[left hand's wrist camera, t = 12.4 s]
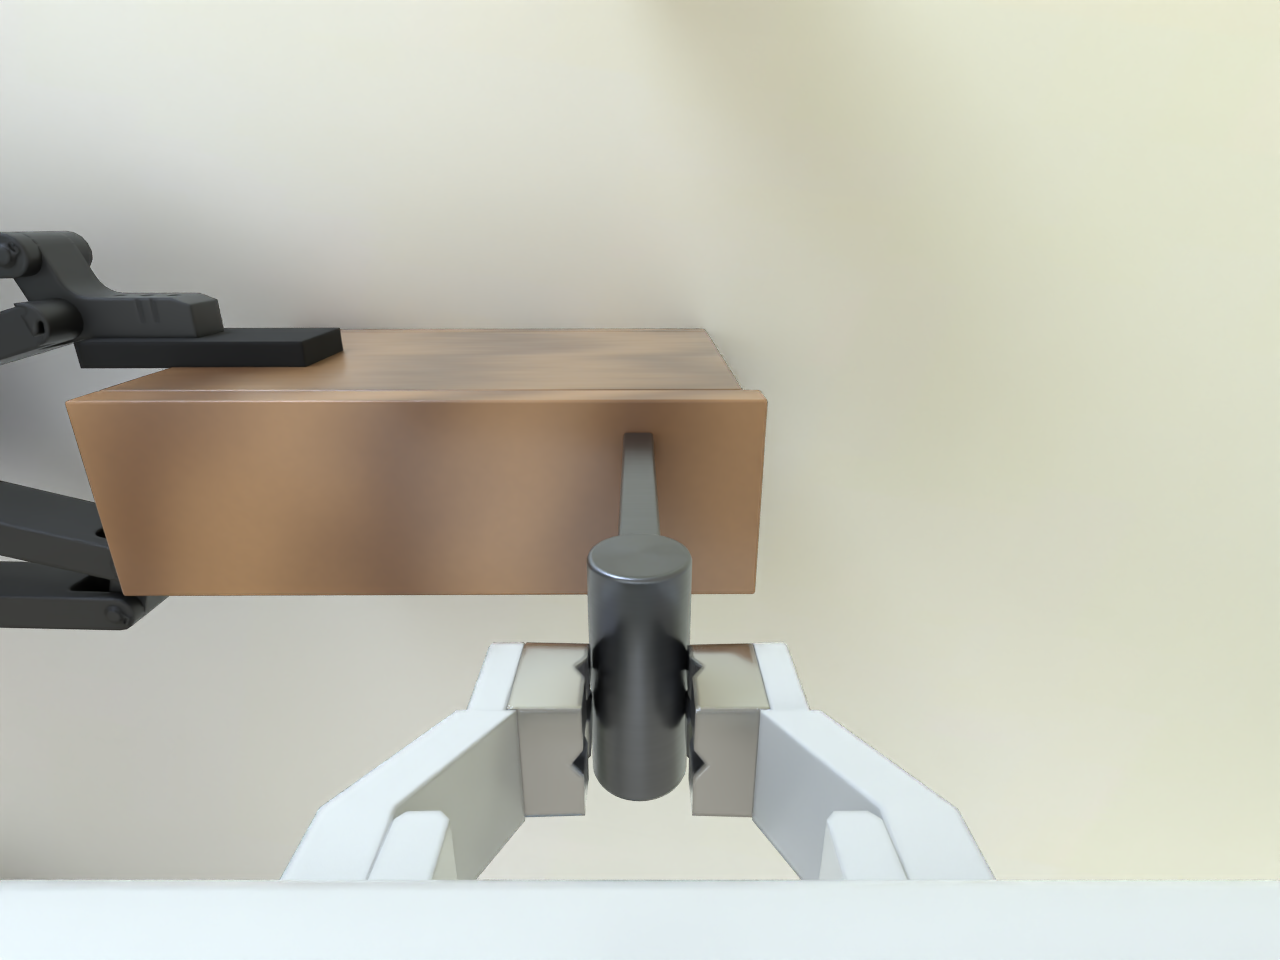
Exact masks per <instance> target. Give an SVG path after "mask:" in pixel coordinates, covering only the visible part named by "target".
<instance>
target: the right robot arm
mask: <svg viewBox="0 0 1280 960" xmlns="http://www.w3.org/2000/svg"><path fill="white" fill-rule="evenodd" d="M91 262H92V251H91V249H90V247H89V245H88V243H87V242H86V241H85V240H84V239H83V238H82V237H81V236H79V235H78V234H76V233H74V232H69V231H39V232H0V278H14V280H15V281H16V283H17V284H18V286H19V287H20V289H21V290H22V292H23V293H24V295H25V297H26V298H27V300H28V301H29V302H22V303H14V305H15V307H14V308H11V309H7V310H4V311H1V312H0V365H3V364H6V363H9V362H13V361H16V360H19V359H23V358H26V357H29V356H33V355H36V354H39V353H43V352H46V351H49V350H53V349H56V348H59V347H63V346H66V345H69V344H73V343H74V346H75V349H76V353H77V356H78V359H79V363H80V366H81V368H172V367H307V366H310V365H312V364H314V363H316V362H319V361H321V360H323V359H325V358H328V357H330V356H332V355H334V354H337V353H339V352H341V351H343V345H342V338H341V331H340V328H223V324H222V319H221V314H220V309H219V305H218V300H217V299H214V298H212V297H209V296H206V295H204V294H201V293H119V292H116V291H113V290H110V289H109V288H107V287H105V286H104V285H103V284H102V283H101V282H100V281H99V280H98V279H97V277H96V276H95V275H94V273H93V271H92V270H91V268H90V267H89V266H90V265H91ZM0 555H1V556H6V557H10V558H15V559H19V560H24V561H28V562H6V561H0V628H42V629H88V630H125V629H128V628H129V627H131V626H132V625H133V624H135V623H136V622H137V621H138V620H140V619H141V618H142V617H144V616H145V615H146V614H147V613H149V612H150V611H151V610H152V609H154V608H155V607H156V606H157V605H159V604H160V603H161V602H162V601H164V600H165V599H166V598H167V597H169V596H125V595H124V594H123V592H122V588H121V585H120V582H119V579H118V575H117V572H116V569H115V566H114V562H113V559H112V556H111V552H110V549H109V546H108V543H107V539H106V536H105V533H104V530H103V526H102V523H101V520H100V516H99V513H98V510H97V507H96V503H94V502H90V501H85V500H81V499H77V498H73V497H68V496H64V495H60V494H55V493H51V492H47V491H43V490H38V489H34V488H30V487H25V486H21V485H17V484H12V483H8V482H4V481H0Z"/></svg>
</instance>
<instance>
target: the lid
mask: <svg viewBox="0 0 1280 960" xmlns="http://www.w3.org/2000/svg"><path fill="white" fill-rule="evenodd" d="M767 404H768V402H767V399H766V398H765V397H764V395H763V394H762V392H761V391H759V390H553V391H97V392H93V393H90V394H87V395H84V396H81V397H78V398H75V399H71V400H68V401H66V402H65V405H66V408H67V412H68V415H69V418H70V421H71V425H72V428H73V431H74V435H75V438H76V441H77V444H78V448H79V451H80V454H81V457H82V461H83V464H84V467H85V471H86V474H87V477H88V480H89V484H90V487H91V490H92V493H93V497H94V500H95V503H96V507H97V510H98V513H99V516H100V520H101V523H102V526H103V530H104V533H105V536H106V539H107V543H108V546H109V549H110V552H111V556H112V559H113V562H114V566H115V569H116V572H117V575H118V579H119V582H120V585H121V588H122V592H123V594H124V595H125V596H244V595H549V594H588V621H589V644H590V647H591V662H592V671H591V681H590V683H591V691H592V692H593V727H592V746H593V769H594V773H595V776H596V778H597V779H598V781H599V783H600V784H601V785H602V786H603V787H604V788H605V789H606V790H607V791H608V792H610V793H611V794H613V795H615V796H617V797H620V798H622V799H626V800H632V801H648V800H653V799H657V798H660V797H662V796H664V795H666V794H668V793H670V792H671V791H672V790H674V789H675V788H676V787H677V786H678V784H679V783H680V782H681V780H682V778H683V776H684V774H685V771H686V756H687V753H686V740H685V693H686V691H687V689H688V688H687V677H686V650H687V645H690V617H691V594H753V593H754V592H755V584H756V569H757V554H758V539H759V524H760V509H761V494H762V479H763V464H764V449H765V434H766V419H767Z"/></svg>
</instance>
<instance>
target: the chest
mask: <svg viewBox="0 0 1280 960" xmlns="http://www.w3.org/2000/svg"><path fill="white" fill-rule="evenodd" d="M340 331H341V338H342V345H343V351H341V352H339V353H337V354H334V355H332V356H330V357H328V358H325V359H323V360H321V361H319V362H316V363H314V364H312V365H310V366H307V367H172V368H169V369H165V370H162V371H159V372H156V373H153V374H150V375H146V376H143V377H140V378H137V379H134V380H131V381H128V382H124V383H121V384H118V385H115V386H112V387H109V388H105V389H102V390H100V391H553V390H742V388H741V387H740V385H739V384H738V382H737V380H736V379H735V377H734V375H733V374H732V372H731V371H730V369H729V367H728V366H727V364H726V362H725V361H724V359H723V358H722V356H721V354H720V353H719V351H718V349H717V348H716V346H715V345H714V343H713V341H712V340H711V338H710V336H709V335H708V333H707V332H706V330H705V329H340Z"/></svg>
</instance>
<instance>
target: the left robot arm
mask: <svg viewBox="0 0 1280 960" xmlns="http://www.w3.org/2000/svg"><path fill="white" fill-rule="evenodd" d="M591 671H592V662H591V647H590V644H576V643H526V644H525V643H524V642H494V643H493V644H491V645H490V646H489V648H488V651H487V654H486V656H485V659H484V662H483V665H482V668H481V670H480V673H479V676H478V679H477V682H476V684H475V687H474V690H473V693H472V696H471V698H470V701H469V704H468V707H467V709H466V710H456V711H455V712H453V713H452V714H451V715H449V716H448V717H446V718H445V719H444V720H442V721H441V722H439V723H438V724H437V725H435V726H434V727H432V728H431V729H430V730H428V731H427V732H425V733H424V734H422V735H421V736H420V737H418V738H417V739H415V740H414V741H413V742H411V743H410V744H408V745H407V746H406V747H404V748H403V749H401V750H400V751H399V752H397V753H396V754H394V755H393V756H391V757H390V758H389V759H387V760H386V761H384V762H383V763H382V764H380V765H379V766H377V767H376V768H375V769H373V770H372V771H370V772H369V773H368V774H366V775H365V776H363V777H362V778H361V779H359V780H358V781H356V782H355V783H353V784H352V785H351V786H349V787H348V788H346V789H345V790H344V791H342V792H341V793H339V794H338V795H337V796H335V797H334V798H332V799H331V800H330V801H328V802H327V803H325V804H324V805H322V806H321V807H320V808H319V809H318V811H317V813H316V815H315V816H314V818H313V820H312V822H311V824H310V825H309V827H308V829H307V831H306V833H305V835H304V836H303V838H302V840H301V842H300V844H299V845H298V847H297V849H296V851H295V853H294V854H293V856H292V858H291V860H290V862H289V863H288V865H287V867H286V869H285V871H284V873H283V874H282V876H281V878H280V880H0V960H1280V880H996V879H995V877H994V875H993V873H992V871H991V869H990V867H989V866H988V864H987V862H986V860H985V858H984V856H983V854H982V853H981V851H980V849H979V847H978V845H977V843H976V842H975V840H974V838H973V836H972V834H971V832H970V830H969V829H968V827H967V825H966V823H965V821H964V819H963V817H962V816H961V814H960V812H959V810H958V809H957V808H956V807H955V806H953V805H952V804H950V803H949V802H948V801H946V800H945V799H943V798H942V797H941V796H939V795H938V794H936V793H935V792H934V791H932V790H931V789H929V788H928V787H927V786H925V785H924V784H922V783H921V782H920V781H918V780H917V779H916V778H914V777H913V776H911V775H910V774H909V773H907V772H906V771H904V770H903V769H902V768H900V767H899V766H897V765H896V764H895V763H893V762H892V761H890V760H889V759H888V758H886V757H885V756H883V755H882V754H881V753H879V752H878V751H876V750H875V749H874V748H872V747H871V746H870V745H868V744H867V743H865V742H864V741H863V740H861V739H860V738H858V737H857V736H856V735H854V734H853V733H851V732H850V731H849V730H847V729H846V728H844V727H843V726H842V725H840V724H839V723H837V722H836V721H835V720H833V719H832V718H830V717H829V716H828V715H826V714H825V713H823V712H822V711H821V710H810V707H809V704H808V701H807V699H806V696H805V693H804V690H803V687H802V684H801V682H800V679H799V676H798V673H797V670H796V668H795V665H794V662H793V659H792V656H791V654H790V651H789V648H788V645H787V644H785V643H784V642H766V643H751V644H700V645H687V650H686V677H687V688H688V689H687V691H686V693H685V740H686V753H687V757H688V758H689V787H690V797H691V807H692V815H695V816H731V817H752V820H753V822H754V823H755V824H756V825H757V826H758V828H759V829H760V830H761V831H762V832H763V834H764V835H765V836H766V837H767V839H768V840H769V841H770V842H771V843H772V845H773V846H774V847H775V848H776V849H777V851H778V852H779V853H780V854H781V856H782V857H783V858H784V859H785V860H786V862H787V863H788V864H789V865H790V867H791V868H792V869H793V870H794V871H795V873H796V874H797V875H798V876H799V877H800V879H801V880H476V879H477V878H478V876H479V875H480V874H481V873H482V872H483V870H484V869H485V868H486V867H487V866H488V864H489V863H490V862H491V861H492V860H493V858H494V857H495V856H496V855H497V854H498V852H499V851H500V850H501V849H502V848H503V846H504V845H505V844H506V843H507V842H508V840H509V839H510V838H511V837H512V836H513V834H514V833H515V832H516V831H517V829H518V828H519V827H520V826H521V825H522V823H523V822H524V821H525V817H546V816H580V815H585V810H586V800H587V790H588V780H589V775H588V758H589V757H590V756H591V746H592V727H593V692H592V691H591V690H590V681H591Z"/></svg>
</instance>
